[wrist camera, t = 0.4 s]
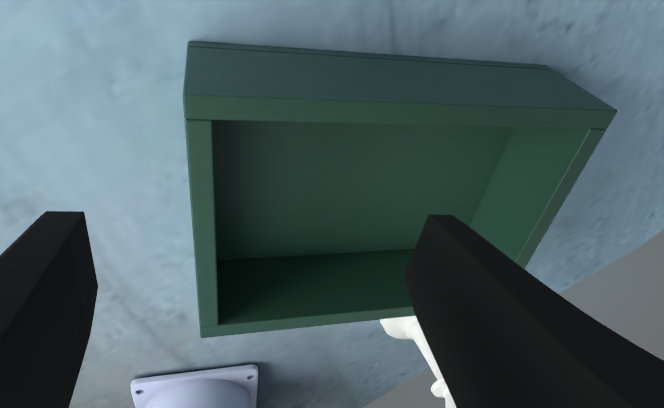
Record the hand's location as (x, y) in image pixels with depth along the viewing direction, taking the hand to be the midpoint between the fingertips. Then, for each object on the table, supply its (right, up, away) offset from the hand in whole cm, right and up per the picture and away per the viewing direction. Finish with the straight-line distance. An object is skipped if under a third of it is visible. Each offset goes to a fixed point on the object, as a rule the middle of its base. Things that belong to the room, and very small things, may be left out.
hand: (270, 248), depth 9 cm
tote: (+3, +3, +12) cm, 12 cm away
